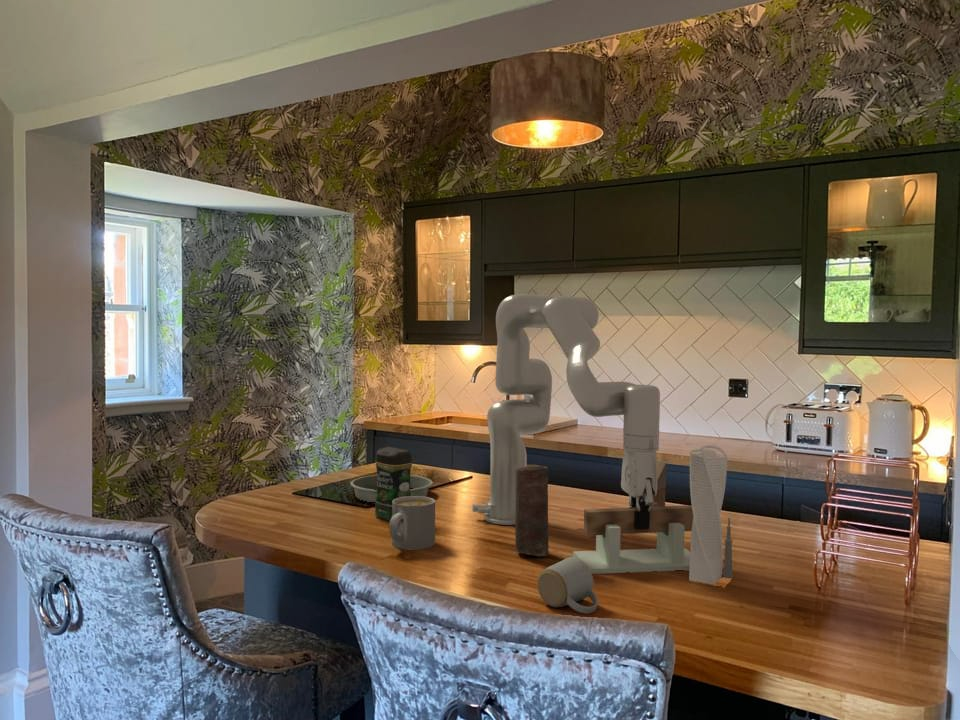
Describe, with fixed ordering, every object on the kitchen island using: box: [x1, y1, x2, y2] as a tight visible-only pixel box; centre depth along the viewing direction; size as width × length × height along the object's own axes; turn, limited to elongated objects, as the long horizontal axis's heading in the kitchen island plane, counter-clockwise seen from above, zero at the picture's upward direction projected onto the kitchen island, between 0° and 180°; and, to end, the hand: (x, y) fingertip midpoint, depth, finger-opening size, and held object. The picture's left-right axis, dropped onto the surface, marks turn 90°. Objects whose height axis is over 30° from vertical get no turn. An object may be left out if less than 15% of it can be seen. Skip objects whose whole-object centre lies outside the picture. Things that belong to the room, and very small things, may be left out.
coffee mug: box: [388, 496, 436, 551], centre depth 166 cm, size 13×10×10 cm
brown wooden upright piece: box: [643, 461, 667, 507], centre depth 195 cm, size 4×11×18 cm, turn 135°
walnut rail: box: [583, 504, 693, 537], centre depth 155 cm, size 24×2×5 cm, turn 98°
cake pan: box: [349, 474, 434, 504], centre depth 216 cm, size 25×25×4 cm
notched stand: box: [572, 523, 690, 575], centre depth 155 cm, size 26×12×9 cm, turn 98°
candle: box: [514, 463, 549, 558], centre depth 160 cm, size 8×7×20 cm
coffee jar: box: [374, 446, 413, 521], centre depth 190 cm, size 10×8×19 cm
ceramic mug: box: [536, 556, 599, 615], centre depth 130 cm, size 11×8×8 cm
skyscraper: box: [688, 444, 733, 585], centre depth 144 cm, size 8×8×28 cm
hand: (639, 526), depth 155 cm, fingers closed on walnut rail, 2 cm apart
